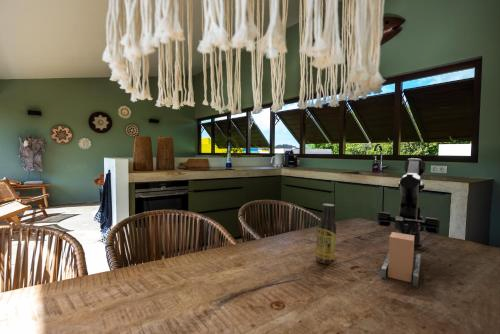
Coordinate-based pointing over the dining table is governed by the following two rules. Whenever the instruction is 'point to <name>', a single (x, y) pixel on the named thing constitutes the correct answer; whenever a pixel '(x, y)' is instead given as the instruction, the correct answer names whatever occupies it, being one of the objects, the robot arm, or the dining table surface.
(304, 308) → the dining table surface
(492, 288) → the dining table surface
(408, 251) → the terracotta block
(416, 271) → the chute
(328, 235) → the sauce bottle
